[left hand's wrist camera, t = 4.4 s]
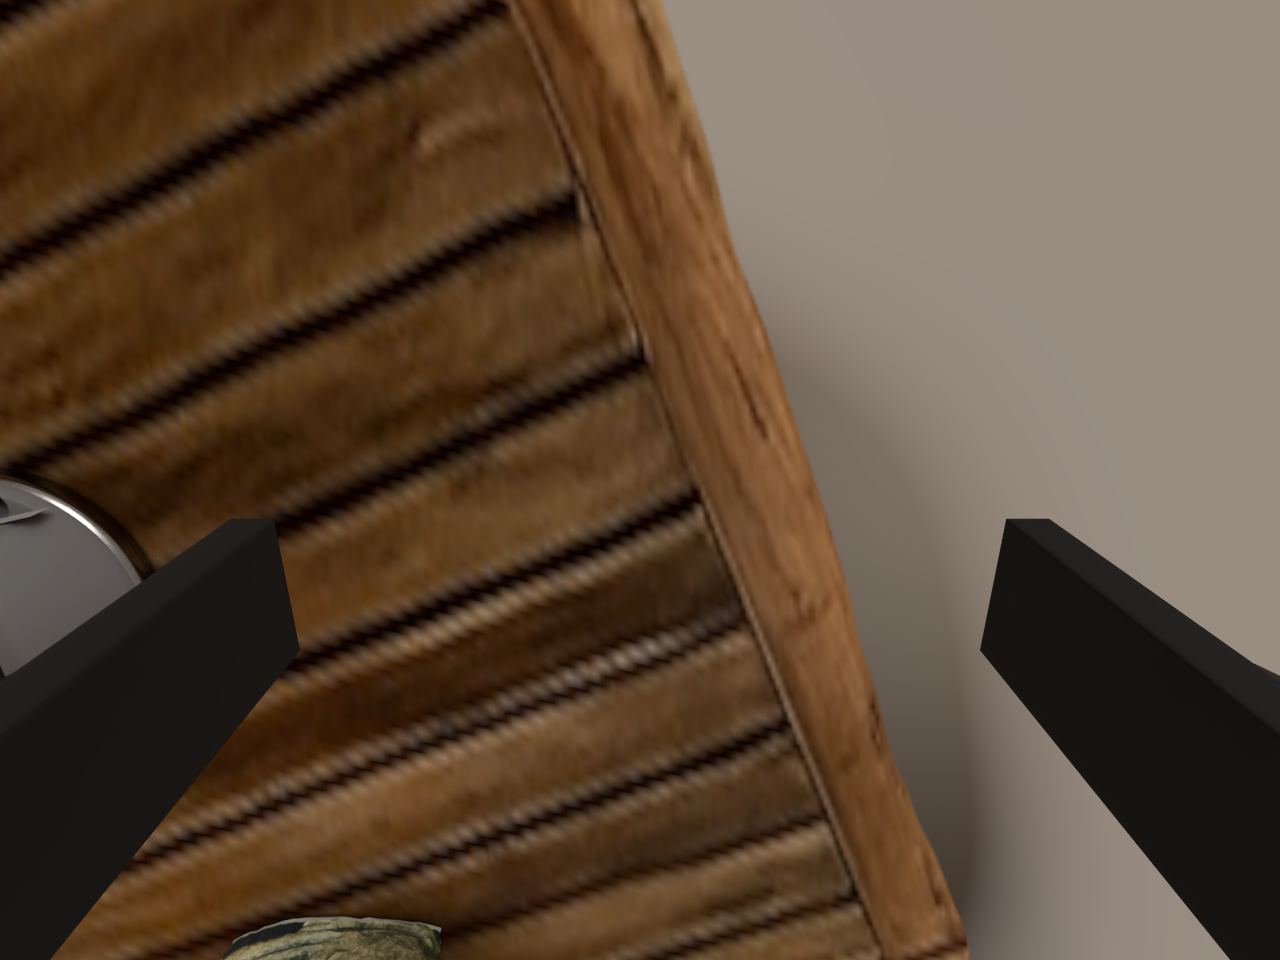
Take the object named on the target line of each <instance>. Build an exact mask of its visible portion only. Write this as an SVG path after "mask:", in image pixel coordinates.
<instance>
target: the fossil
mask: <svg viewBox="0 0 1280 960" xmlns="http://www.w3.org/2000/svg"><path fill="white" fill-rule="evenodd" d="M440 932H441V928H440V927H437V926H433V925H429V924H425V923H421V922H407V921H400V920H388V919H377V918H369V917H368V918H363V919H356V918H350V917H311V918H300V919H291V920H286V921H282V922H279V923H276V924H272V925H269V926H265V927H263V928H261V929H260V930H258V931H253V932H249V933H247V934H245V935H243V936H241V937H239V938H237V939H236V940H234V941H233V943H232V946H231V947H230V949H229V950H228V952H227V953H226V954H225V956H223V957H222V958H221V959H220V960H440V958H439V955H440V951H441V941H440V938H439V936H440Z"/></svg>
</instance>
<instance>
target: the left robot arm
mask: <svg viewBox="0 0 1280 960" xmlns="http://www.w3.org/2000/svg"><path fill="white" fill-rule="evenodd" d="M299 651H300V648H299V643H298V638H297V633H296V628H295V623H294V618H293V613H292V608H291V603H290V598H289V593H288V588H287V583H286V578H285V573H284V568H283V563H282V558H281V553H280V548H279V543H278V538H277V533H276V528H275V523H274V519H230V520H229V521H227V522H226V523H224V524H223V525H222V526H220V527H219V528H217V529H216V530H214V531H213V532H212V533H210V534H209V535H207V536H206V537H205V538H203V539H202V540H200V541H199V542H198V543H196V544H195V545H193V546H192V547H190V548H189V549H188V550H186V551H185V552H183V553H182V554H181V555H179V556H178V557H176V558H175V559H173V560H172V561H171V562H169V563H168V564H166V565H165V566H164V567H162V568H161V569H159V570H158V571H157V572H154V570H153V568H152V566H151V564H150V562H149V561H148V559H147V557H146V556H145V554H144V553H143V551H142V549H141V548H140V547H139V545H138V544H137V543H136V541H135V540H134V539H133V538H132V536H131V535H130V534H129V533H128V532H127V531H126V530H125V529H124V528H123V527H122V526H121V525H120V524H119V523H118V522H117V521H116V520H115V519H114V518H113V517H112V516H110V515H109V514H108V513H107V512H106V511H104V510H103V509H102V508H101V507H99V506H98V505H96V504H95V503H93V502H92V501H90V500H89V499H87V498H86V497H84V496H82V495H81V494H79V493H77V492H75V491H73V490H71V489H69V488H67V487H65V486H63V485H61V484H59V483H56V482H54V481H51V480H49V479H46V478H43V477H39V476H36V475H33V474H28V473H24V472H20V471H13V470H6V469H0V960H50V959H51V958H52V956H53V955H54V954H55V953H56V952H57V950H58V949H59V948H60V947H61V945H62V944H63V943H64V942H65V940H66V939H67V938H68V937H69V935H70V934H71V933H72V932H73V930H74V929H75V928H76V927H77V926H78V924H79V923H80V922H81V921H82V919H83V918H84V917H85V916H86V914H87V913H88V912H89V911H90V909H91V908H92V907H93V906H94V904H95V903H96V902H97V901H98V900H99V898H100V897H101V896H102V895H103V893H104V892H105V891H106V890H107V888H108V887H109V886H110V885H111V883H112V882H113V881H114V880H115V878H116V877H117V876H118V875H119V874H120V872H121V871H122V870H123V869H124V867H125V866H126V865H127V864H128V862H129V861H130V860H131V859H132V857H133V856H134V855H135V854H136V852H137V851H138V850H139V849H140V848H141V846H142V845H143V844H144V843H145V841H146V840H147V839H148V838H149V836H150V835H151V834H152V833H153V831H154V830H155V829H156V828H157V827H158V825H159V824H160V823H161V822H162V820H163V819H164V818H165V817H166V815H167V814H168V813H169V812H170V810H171V809H172V808H173V807H174V805H175V804H176V803H177V802H178V801H179V799H180V798H181V797H182V796H183V794H184V793H185V792H186V791H187V789H188V788H189V787H190V786H191V784H192V783H193V782H194V781H195V779H196V778H197V777H198V776H199V775H200V773H201V772H202V771H203V770H204V768H205V767H206V766H207V765H208V763H209V762H210V761H211V760H212V758H213V757H214V756H215V755H216V753H217V752H218V751H219V750H220V749H221V747H222V746H223V745H224V744H225V742H226V741H227V740H228V739H229V737H230V736H231V735H232V734H233V732H234V731H235V730H236V729H237V727H238V726H239V725H240V724H241V723H242V721H243V720H244V719H245V718H246V716H247V715H248V714H249V713H250V711H251V710H252V709H253V708H254V706H255V705H256V704H257V703H258V702H259V700H260V699H261V698H262V697H263V695H264V694H265V693H266V692H267V690H268V689H269V688H270V687H271V685H272V684H273V683H274V682H275V680H276V679H277V678H278V677H279V676H280V674H281V673H282V672H283V671H284V669H285V668H286V667H287V666H288V664H289V663H290V662H291V661H292V659H293V658H294V657H295V656H296V654H297V653H298V652H299ZM980 651H981V652H982V653H983V654H984V656H985V657H986V658H987V659H988V661H989V662H990V663H991V664H992V666H993V667H994V668H995V669H996V671H997V672H998V673H999V674H1000V676H1001V677H1002V678H1003V679H1004V680H1005V682H1006V683H1007V684H1008V685H1009V687H1010V688H1011V689H1012V690H1013V692H1014V693H1015V694H1016V695H1017V697H1018V698H1019V699H1020V700H1021V701H1022V703H1023V704H1024V705H1025V706H1026V708H1027V709H1028V710H1029V711H1030V713H1031V714H1032V715H1033V716H1034V718H1035V719H1036V720H1037V721H1038V723H1039V724H1040V725H1041V726H1042V727H1043V729H1044V730H1045V731H1046V732H1047V734H1048V735H1049V736H1050V737H1051V739H1052V740H1053V741H1054V742H1055V744H1056V745H1057V746H1058V747H1059V749H1060V750H1061V751H1062V752H1063V753H1064V755H1065V756H1066V757H1067V758H1068V760H1069V761H1070V762H1071V763H1072V765H1073V766H1074V767H1075V768H1076V770H1077V771H1078V772H1079V773H1080V775H1081V776H1082V777H1083V778H1084V779H1085V781H1086V782H1087V783H1088V784H1089V786H1090V787H1091V788H1092V789H1093V791H1094V792H1095V793H1096V794H1097V796H1098V797H1099V798H1100V799H1101V801H1102V802H1103V803H1104V804H1105V805H1106V807H1107V808H1108V809H1109V810H1110V812H1111V813H1112V814H1113V815H1114V817H1115V818H1116V819H1117V820H1118V822H1119V823H1120V824H1121V825H1122V826H1123V828H1124V829H1125V830H1126V831H1127V833H1128V834H1129V835H1130V836H1131V838H1132V839H1133V840H1134V841H1135V843H1136V844H1137V845H1138V846H1139V848H1140V849H1141V850H1142V851H1143V852H1144V854H1145V855H1146V856H1147V857H1148V859H1149V860H1150V861H1151V862H1152V864H1153V865H1154V866H1155V867H1156V869H1157V870H1158V871H1159V872H1160V874H1161V875H1162V876H1163V877H1164V878H1165V880H1166V881H1167V882H1168V883H1169V885H1170V886H1171V887H1172V888H1173V890H1174V891H1175V892H1176V893H1177V895H1178V896H1179V897H1180V898H1181V900H1182V901H1183V902H1184V903H1185V904H1186V906H1187V907H1188V908H1189V909H1190V911H1191V912H1192V913H1193V914H1194V916H1195V917H1196V918H1197V919H1198V921H1199V922H1200V923H1201V924H1202V926H1203V927H1204V928H1205V929H1206V930H1207V932H1208V933H1209V934H1210V935H1211V937H1212V938H1213V939H1214V940H1215V942H1216V943H1217V944H1218V945H1219V947H1220V948H1221V949H1222V950H1223V952H1224V953H1225V954H1226V955H1227V956H1228V958H1229V959H1230V960H1280V676H1279V675H1277V674H1275V673H1273V672H1271V671H1269V670H1267V669H1264V668H1262V667H1260V666H1258V665H1256V664H1253V663H1252V662H1251V661H1249V660H1248V659H1246V658H1245V657H1243V656H1242V655H1241V654H1239V653H1238V652H1237V651H1235V650H1234V649H1232V648H1231V647H1229V646H1228V645H1227V644H1225V643H1224V642H1222V641H1221V640H1220V639H1218V638H1217V637H1215V636H1214V635H1212V634H1211V633H1210V632H1208V631H1207V630H1205V629H1204V628H1203V627H1201V626H1200V625H1198V624H1197V623H1195V622H1194V621H1193V620H1191V619H1190V618H1188V617H1187V616H1186V615H1184V614H1183V613H1181V612H1180V611H1179V610H1177V609H1176V608H1174V607H1173V606H1172V605H1170V604H1169V603H1167V602H1166V601H1164V600H1163V599H1162V598H1160V597H1159V596H1157V595H1156V594H1155V593H1153V592H1152V591H1150V590H1149V589H1147V588H1146V587H1145V586H1143V585H1142V584H1140V583H1139V582H1138V581H1136V580H1135V579H1133V578H1132V577H1131V576H1129V575H1128V574H1126V573H1125V572H1123V571H1122V570H1121V569H1119V568H1118V567H1116V566H1115V565H1114V564H1112V563H1111V562H1109V561H1108V560H1106V559H1105V558H1104V557H1102V556H1101V555H1099V554H1098V553H1097V552H1095V551H1094V550H1092V549H1091V548H1090V547H1088V546H1087V545H1085V544H1084V543H1082V542H1081V541H1080V540H1078V539H1077V538H1075V537H1074V536H1073V535H1071V534H1070V533H1068V532H1067V531H1066V530H1064V529H1063V528H1061V527H1060V526H1058V525H1057V524H1056V523H1054V522H1053V521H1051V520H1050V519H1006V523H1005V528H1004V533H1003V538H1002V543H1001V548H1000V553H999V558H998V563H997V568H996V573H995V578H994V583H993V588H992V593H991V598H990V603H989V608H988V613H987V618H986V623H985V628H984V633H983V638H982V643H981V648H980Z"/></svg>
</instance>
